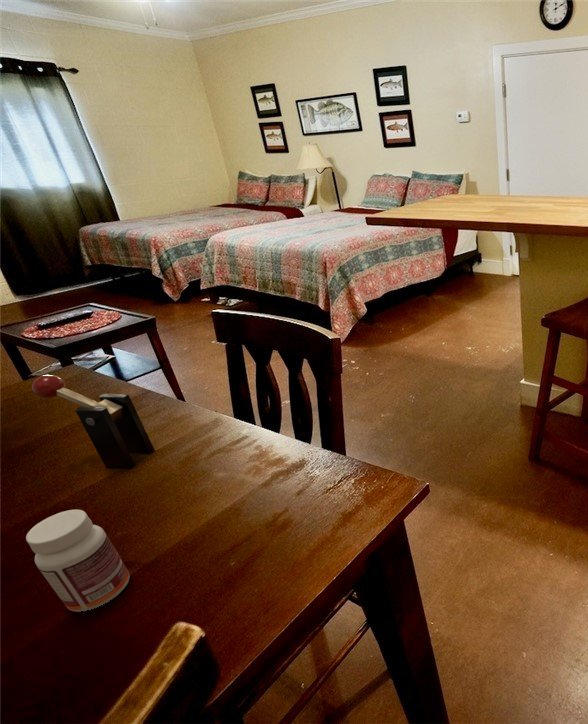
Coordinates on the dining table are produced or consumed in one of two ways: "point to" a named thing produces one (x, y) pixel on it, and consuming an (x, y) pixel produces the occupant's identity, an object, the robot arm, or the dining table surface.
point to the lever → (71, 394)
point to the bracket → (116, 432)
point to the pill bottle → (77, 560)
